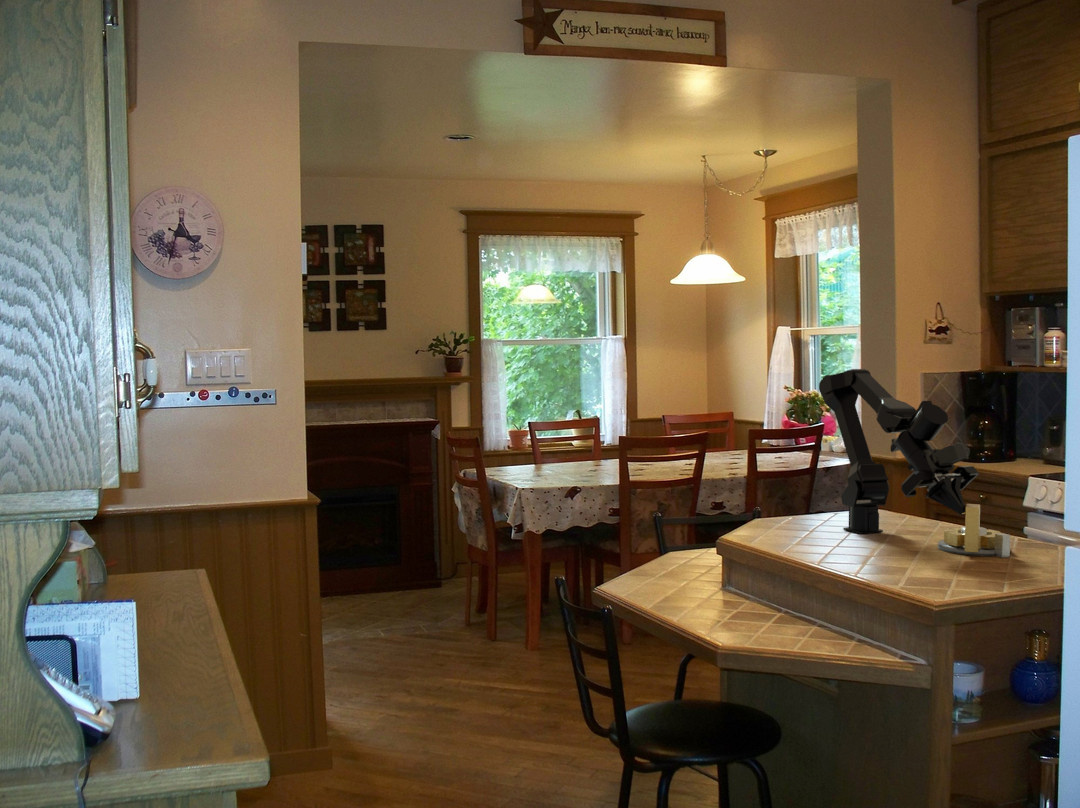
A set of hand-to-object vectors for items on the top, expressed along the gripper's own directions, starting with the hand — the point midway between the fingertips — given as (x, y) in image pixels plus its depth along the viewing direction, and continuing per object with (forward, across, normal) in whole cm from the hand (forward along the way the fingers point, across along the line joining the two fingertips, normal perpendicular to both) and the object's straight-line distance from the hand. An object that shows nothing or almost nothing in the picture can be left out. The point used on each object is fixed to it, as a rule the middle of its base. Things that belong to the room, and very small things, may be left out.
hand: (964, 513), depth 210 cm
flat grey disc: (+4, +7, +8) cm, 11 cm away
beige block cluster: (+4, +5, +6) cm, 9 cm away
